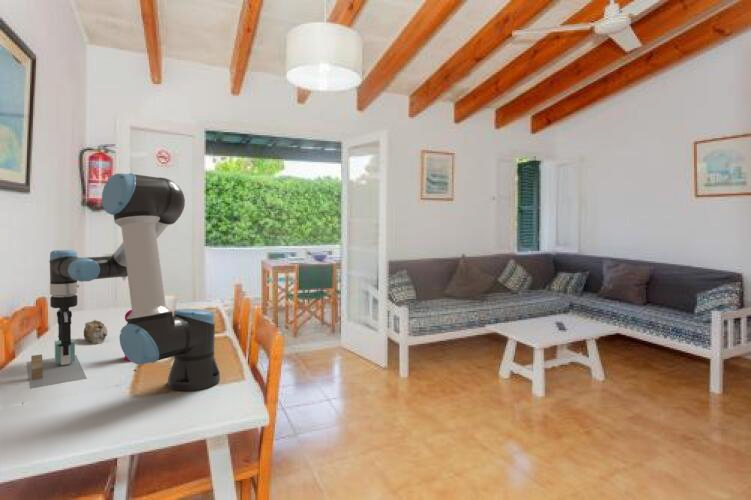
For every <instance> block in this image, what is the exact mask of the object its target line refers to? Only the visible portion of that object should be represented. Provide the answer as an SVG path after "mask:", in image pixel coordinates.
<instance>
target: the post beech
mask: <svg viewBox="0 0 751 500" xmlns="http://www.w3.org/2000/svg"><path fill="white" fill-rule="evenodd" d="M30 356H31V358H30V359H31V360H30V361H31V368H32V380H37V379H43V369H42V360H43V355H42V354H35V355H30Z"/></svg>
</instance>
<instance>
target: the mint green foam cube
mask: <svg viewBox="0 0 751 500" xmlns="http://www.w3.org/2000/svg"><path fill="white" fill-rule="evenodd" d="M75 343H76V342H75V340H74V339H73V338H71V345H70V352H71V362H72V361H75V355H76V349H75V348H76V347H75V346H76V345H75ZM58 345H61V340H60V341H59V340H55V341H54V358H55V362H56V364H59V363H61V353H60V347H59V346H58Z"/></svg>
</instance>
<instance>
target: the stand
mask: <svg viewBox="0 0 751 500" xmlns="http://www.w3.org/2000/svg"><path fill="white" fill-rule="evenodd" d="M26 364H27V365H26V366H27V374H28V375H27V376H28V383H29V384H28V385H29V389H36V388H41V387H46V386H53V385H59V384H63V383H64V384H65V383H68V382H76V381H82V380H86V379H88V377H87V376H86V373H85V371H84V368H83V367H82V365H81V362H80V361H79V358H78V356H77V354H75V361H72V362H71V364H66V365H61V364H60V363H59V364H56V362H55V357H54V358H53V357H52V358H45V359H42V369H43V379H37V380H32V368H31V360H30V361H27V362H26Z"/></svg>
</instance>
